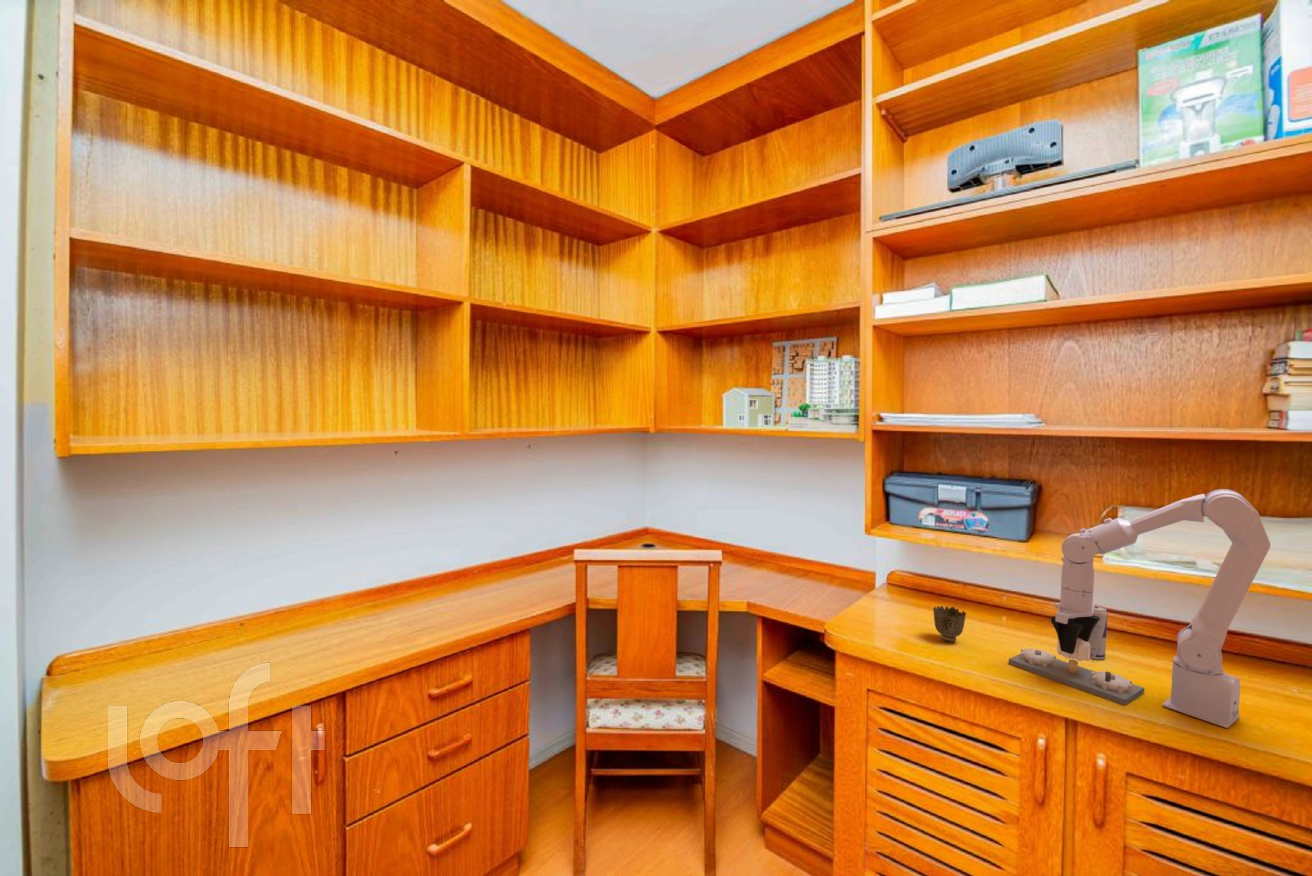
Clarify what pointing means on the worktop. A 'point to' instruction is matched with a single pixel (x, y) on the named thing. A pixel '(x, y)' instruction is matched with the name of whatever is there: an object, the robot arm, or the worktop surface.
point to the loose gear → (1077, 651)
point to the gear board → (1078, 676)
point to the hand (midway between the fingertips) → (1073, 649)
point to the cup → (949, 622)
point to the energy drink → (1099, 635)
